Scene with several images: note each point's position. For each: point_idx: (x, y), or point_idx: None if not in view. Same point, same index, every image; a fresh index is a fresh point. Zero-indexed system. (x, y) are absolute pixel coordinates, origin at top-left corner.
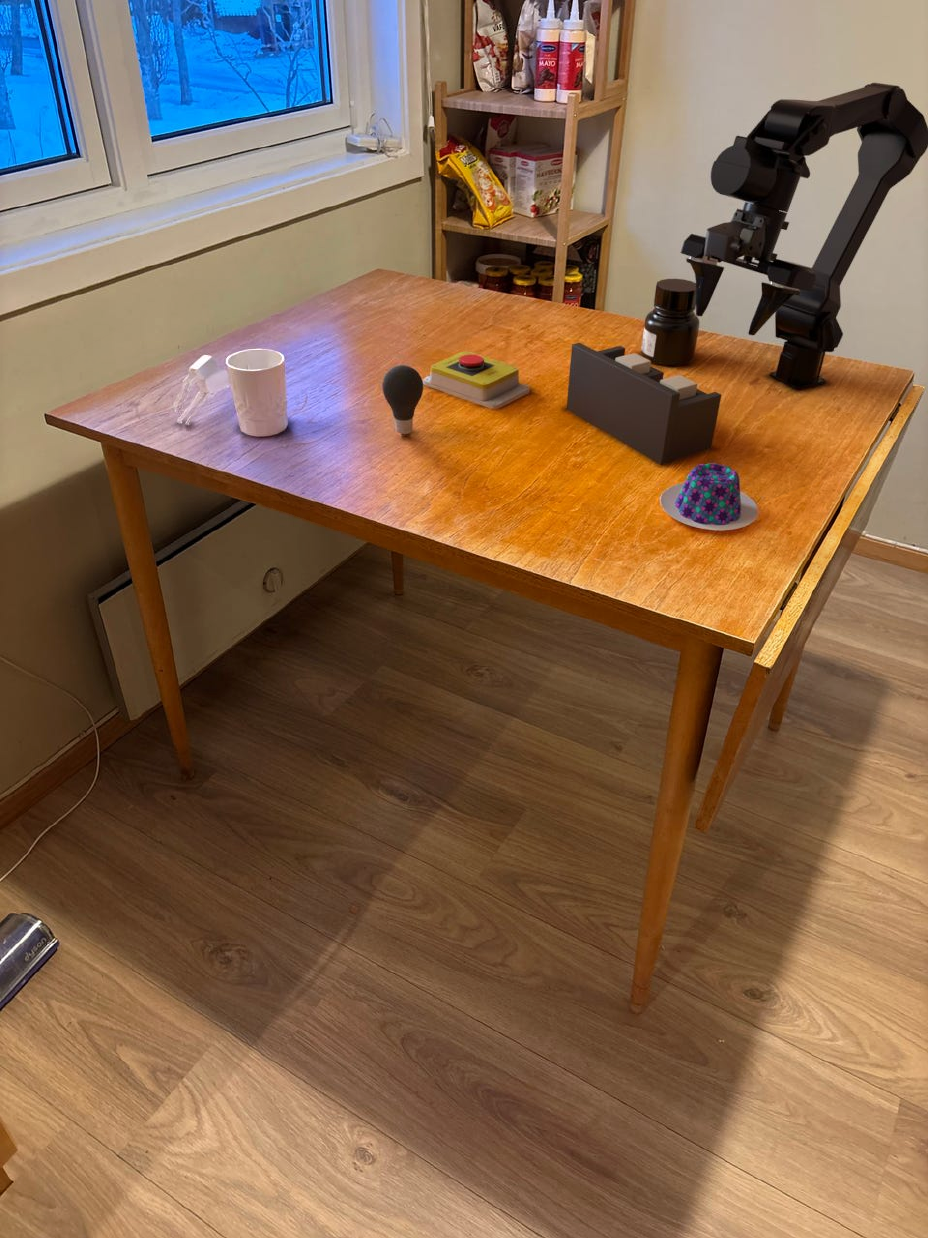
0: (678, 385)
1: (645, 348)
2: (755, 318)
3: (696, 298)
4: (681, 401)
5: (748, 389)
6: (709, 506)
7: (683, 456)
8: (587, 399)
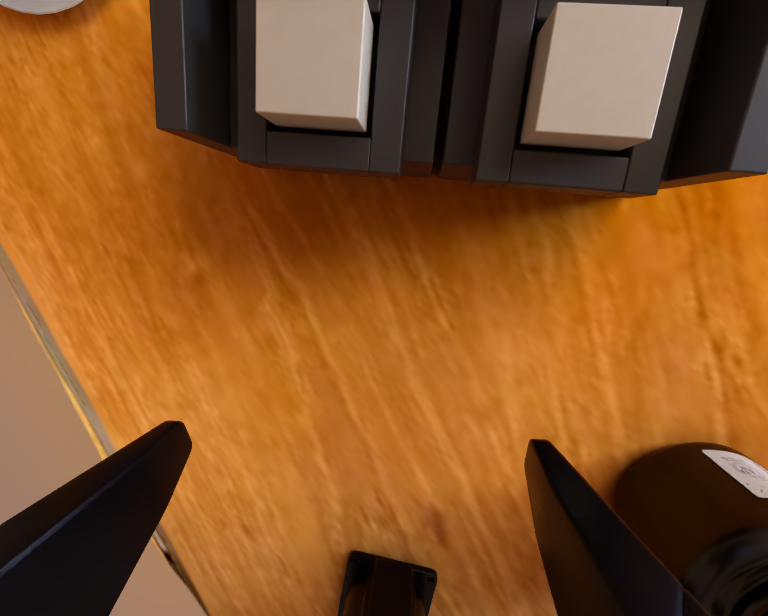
0: (279, 19)
1: (750, 463)
2: (86, 483)
3: (617, 519)
4: (251, 17)
5: (419, 485)
6: None
7: None
8: None
